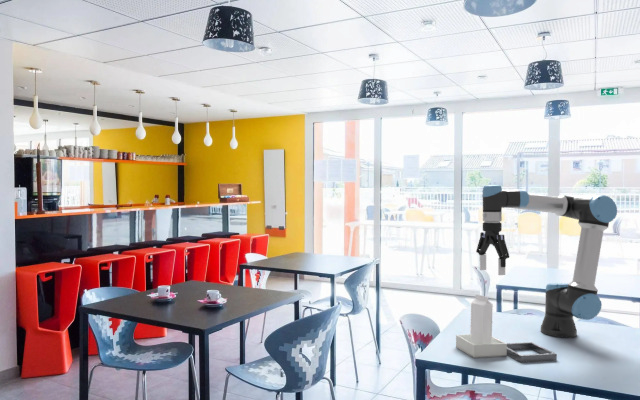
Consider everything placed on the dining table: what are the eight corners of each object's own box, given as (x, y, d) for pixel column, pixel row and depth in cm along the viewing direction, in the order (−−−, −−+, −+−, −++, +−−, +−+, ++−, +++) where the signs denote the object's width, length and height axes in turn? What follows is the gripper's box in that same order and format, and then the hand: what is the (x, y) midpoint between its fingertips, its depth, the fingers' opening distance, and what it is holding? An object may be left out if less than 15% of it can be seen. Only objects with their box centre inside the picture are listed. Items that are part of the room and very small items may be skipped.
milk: (482, 353, 199) (483, 297, 199) (469, 349, 204) (470, 295, 204) (491, 350, 203) (493, 296, 202) (479, 346, 208) (480, 293, 207)
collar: (531, 348, 209) (531, 342, 209) (556, 360, 194) (556, 353, 194) (497, 349, 206) (497, 343, 206) (520, 362, 191) (521, 355, 191)
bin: (486, 345, 212) (487, 333, 212) (506, 356, 198) (506, 343, 198) (455, 347, 209) (456, 335, 209) (473, 358, 195) (473, 345, 195)
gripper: (468, 220, 223) (468, 268, 223) (502, 224, 199) (502, 277, 199) (483, 220, 225) (483, 267, 225) (518, 223, 201) (518, 276, 201)
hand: (492, 272), depth 212 cm, fingers open, 13 cm apart
